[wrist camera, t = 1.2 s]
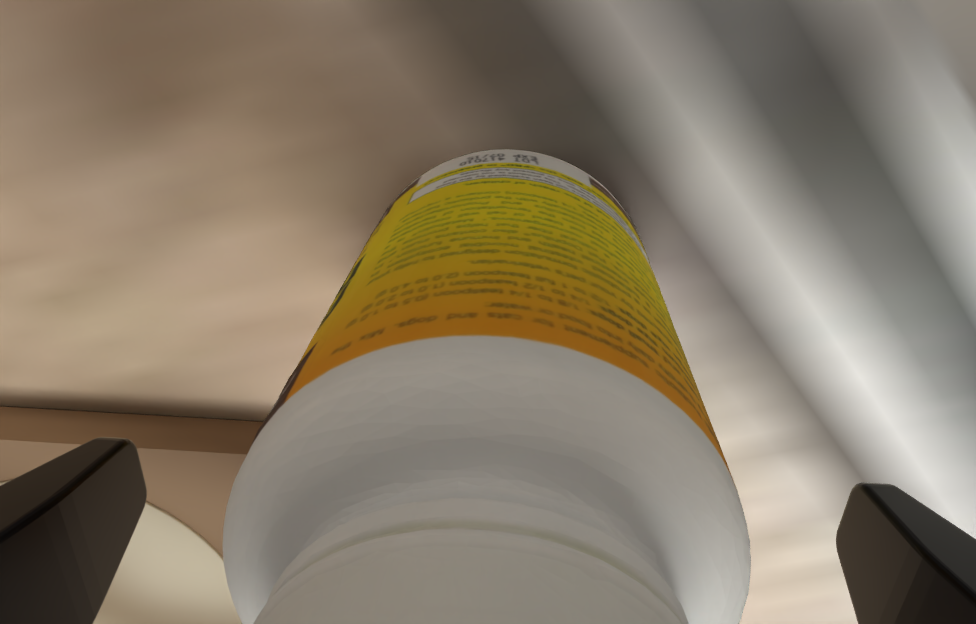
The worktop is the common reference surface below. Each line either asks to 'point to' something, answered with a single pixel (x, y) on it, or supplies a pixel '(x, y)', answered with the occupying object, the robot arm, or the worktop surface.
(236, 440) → the walnut board
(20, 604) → the robot arm
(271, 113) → the worktop surface
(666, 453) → the supplement bottle
